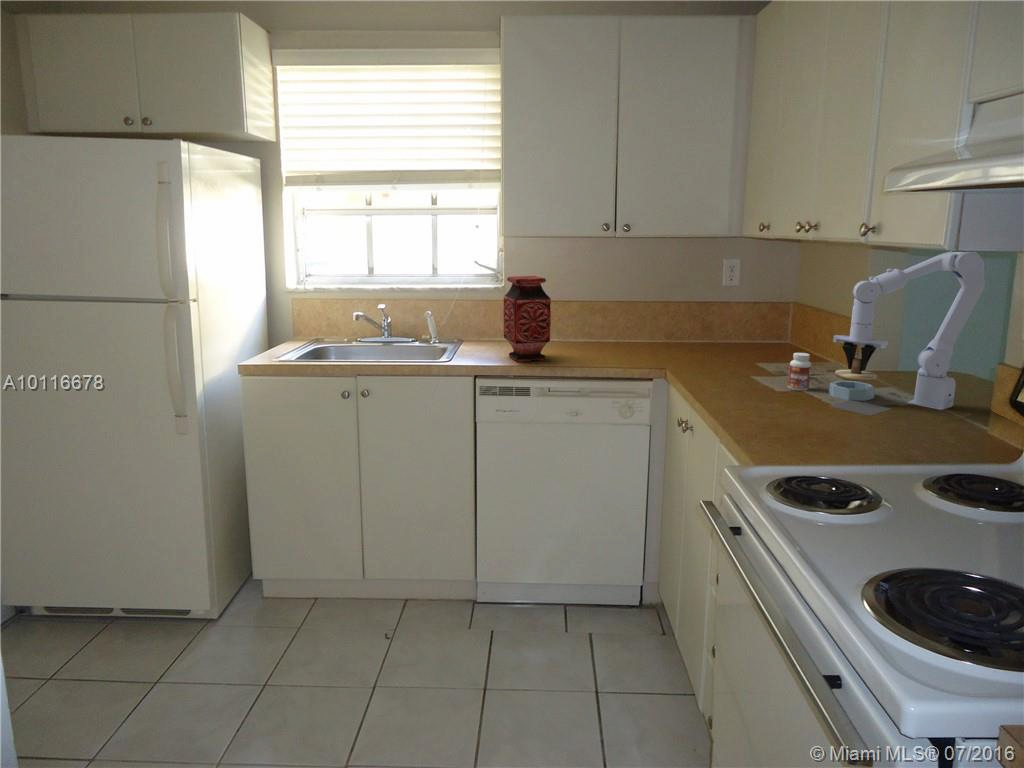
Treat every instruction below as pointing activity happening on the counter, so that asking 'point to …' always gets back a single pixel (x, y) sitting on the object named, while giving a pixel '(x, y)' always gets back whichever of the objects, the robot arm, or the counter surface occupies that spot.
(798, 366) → the pill bottle
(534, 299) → the vase
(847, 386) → the bowl
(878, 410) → the mat
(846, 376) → the lid
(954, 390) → the robot arm
